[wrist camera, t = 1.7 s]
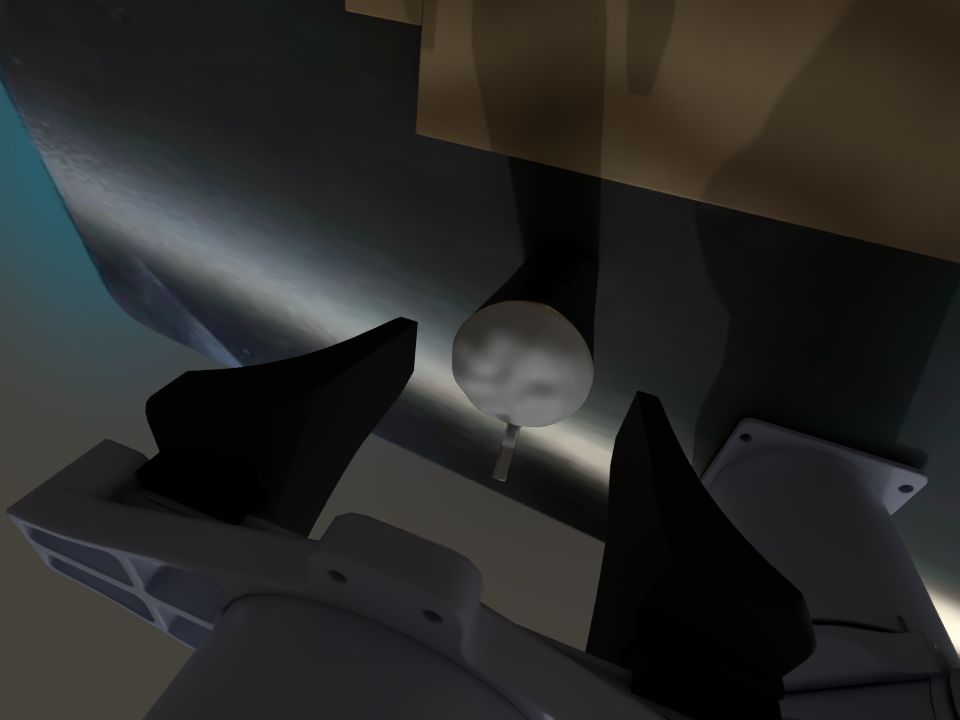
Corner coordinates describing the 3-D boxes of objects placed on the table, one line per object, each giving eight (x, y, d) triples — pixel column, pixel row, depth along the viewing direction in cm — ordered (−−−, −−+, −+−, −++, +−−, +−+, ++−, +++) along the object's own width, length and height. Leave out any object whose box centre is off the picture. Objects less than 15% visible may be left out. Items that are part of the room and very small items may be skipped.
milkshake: (509, 321, 23) (432, 462, 15) (517, 215, 20) (426, 323, 12) (600, 338, 22) (567, 499, 14) (623, 229, 19) (598, 356, 11)
